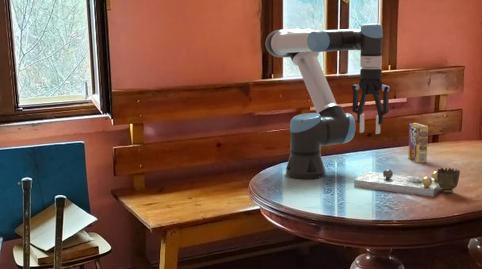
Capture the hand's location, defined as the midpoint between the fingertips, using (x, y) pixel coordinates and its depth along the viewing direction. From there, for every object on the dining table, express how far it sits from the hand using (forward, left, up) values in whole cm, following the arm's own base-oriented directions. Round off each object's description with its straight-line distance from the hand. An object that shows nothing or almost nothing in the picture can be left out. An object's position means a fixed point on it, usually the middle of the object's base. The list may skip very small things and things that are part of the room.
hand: (369, 132), depth 225 cm
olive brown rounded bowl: (+28, 0, -19) cm, 34 cm away
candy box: (+6, +43, -19) cm, 48 cm away
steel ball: (+7, 0, -15) cm, 16 cm away
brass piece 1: (+22, -5, -15) cm, 27 cm away
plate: (+11, 0, -19) cm, 22 cm away
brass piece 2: (+23, +5, -15) cm, 28 cm away
